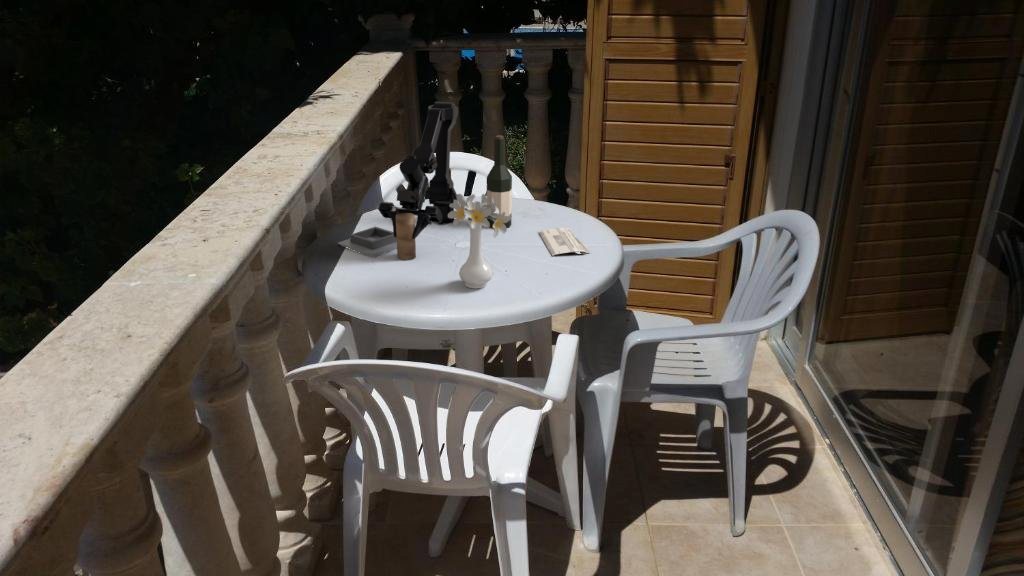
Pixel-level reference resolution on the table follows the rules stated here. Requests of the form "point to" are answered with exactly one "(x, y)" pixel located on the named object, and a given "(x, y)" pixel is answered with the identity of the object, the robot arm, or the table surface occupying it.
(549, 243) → the newspaper
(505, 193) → the wine bottle
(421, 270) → the table surface
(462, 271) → the flower vase
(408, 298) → the table surface
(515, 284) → the table surface
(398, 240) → the peg
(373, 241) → the collar
